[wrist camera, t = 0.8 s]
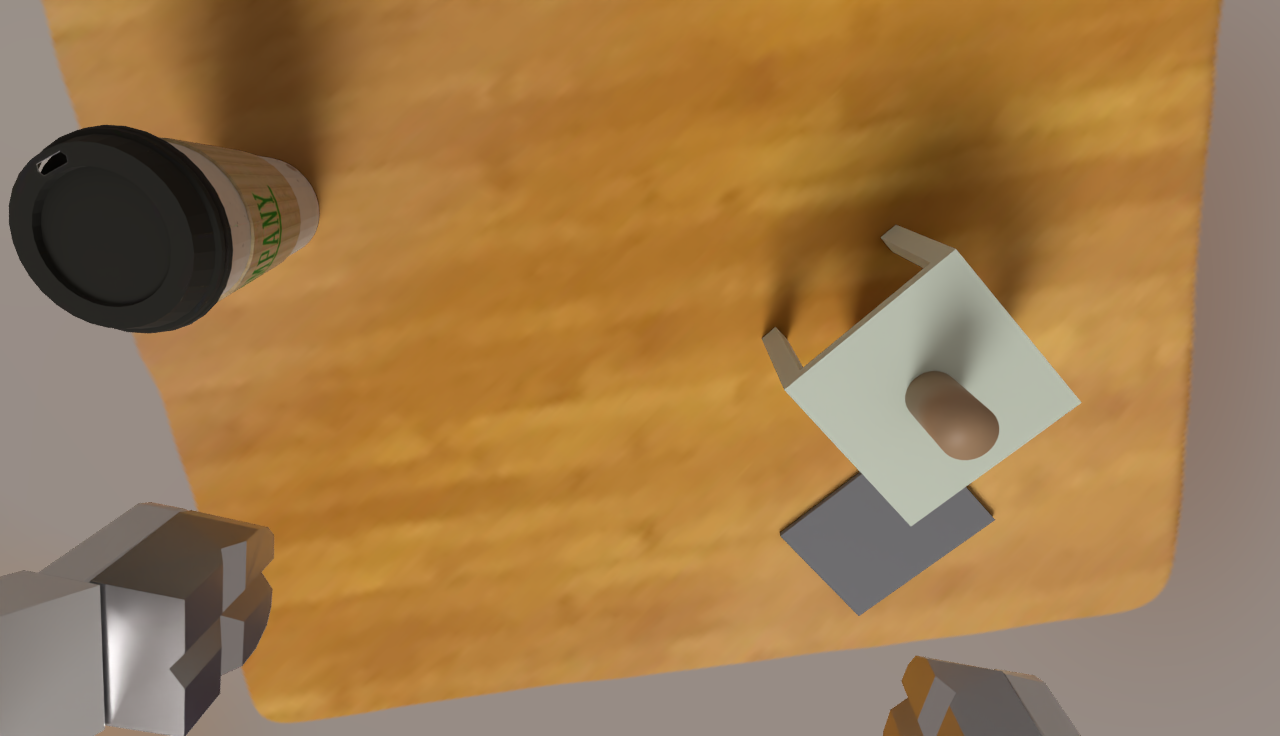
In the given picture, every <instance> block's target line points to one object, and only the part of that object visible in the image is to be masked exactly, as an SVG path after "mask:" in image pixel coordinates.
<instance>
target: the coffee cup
mask: <svg viewBox="0 0 1280 736" xmlns="http://www.w3.org/2000/svg"><path fill="white" fill-rule="evenodd" d="M51 156H52V157H51ZM49 157H51V158H50V159H49V160H48V162H47V163H46V164H45V165H44V167H43V169H42V171H41V172H39V170H38V169H39V167H40V165H41V162H42V161H44V160H46V159H47V158H49ZM318 222H319V205H318V201H317V197H316V194H315V192H314V190H313V188H312V186H311V185H310V183H309V182H308V180H307V179H306V178H305V177H304V176H303V175H302V174H301V173H300V172H299V171H298V170H297V169H296V168H294V167H293V166H291V165H290V164H288V163H286V162H283V161H281V160H277V159H274V158H268V157H262V156H256V155H254V154H251V153H248V152H244V151H240V150H234V149H228V148H222V147H217V146H211V145H205V144H199V143H193V142H187V141H181V140H175V139H170V138H158V137H156V136H154V135H152V134H150V133H148V132H145V131H142V130H138V129H134V128H130V127H127V126H115V125H101V126H94V127H88V128H83V129H80V130H76V131H74V132H72V133H69V134H67V135H64V136H62V137H60V138H58V139H57V140H55V141H54V142H53V143H51V144H50V145H49V146H47V147H46V148H45V149H43V151H42V152H41V153H40V154H38V155H36V156H35V157H34V158H32V159H31V160H30V161H29V162H28V163H27V165H26V166H25V167H24V168H23V170H22V171H21V172H20V173H19V175H18V178H17V180H16V182H15V184H14V186H13V189H12V193H11V199H10V203H9V225H10V230H11V235H12V240H13V244H14V246H15V249H16V251H17V254H18V256H19V259H20V261H21V263H22V264H23V266H24V268H25V269H26V271H27V272H28V274H29V276H30V277H31V279H32V280H33V281H34V282H35V284H36V285H37V286H38V287H39V288H40V290H41V291H42V292H43V293H44V294H45V295H47V296H48V297H49V298H50V299H51V300H52V301H53V302H54V303H56V305H58V306H60V307H61V308H62V309H64V310H66V311H67V312H69V313H70V314H72V315H73V316H75V317H78V318H80V319H82V320H84V321H87V322H89V323H92V324H96V325H100V326H104V327H108V328H114V329H118V330H122V331H126V332H136V333H157V332H164V331H172V330H176V329H179V328H181V327H184V326H187V325H190V324H192V323H193V322H195V321H196V320H198V319H199V318H201V317H203V316H204V315H205V314H206V313H207V312H208V311H209V310H210V309H211V308H212V307H213V306H214V305H215V304H216V303H217V302H218V301H220V300H222V299H223V298H225V297H227V296H228V295H230V294H231V293H233V292H235V291H236V290H238V289H240V288H241V287H243V286H245V285H246V284H248V283H249V282H251V281H253V280H254V279H256V278H258V277H259V276H261V275H263V274H264V273H266V272H267V271H269V270H271V269H272V268H274V267H276V266H277V265H279V264H280V263H282V262H283V261H284V260H285V259H286V258H287V257H288V256H289V255H291V254H293V253H295V252H296V251H298V250H299V249H301V248H303V247H304V246H305V245H306V244H307V243H308V242H309V241H310V240H311V239H312V237H313V236H314V234H315V232H316V229H317V226H318Z"/></svg>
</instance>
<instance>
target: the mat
mask: <svg viewBox="0 0 1280 736" xmlns="http://www.w3.org/2000/svg"><path fill="white" fill-rule="evenodd" d="M994 520H995V519H994V518H993V517H992V516H991V515H990V514H989V512H988V511H987V510H986V509H985V508H984V507H983V506H982V505H981V503H980V502H979V501H978V500H977V499H976V498H975V497H974V496H973V494H972V493H971V492H970V491H969V490H968V489H967V488H966V487H965V488H963V489H962V490H961V491H959V492H958V493H957V494H955V495H954V496H952V497H951V498H950V499H948V500H947V501H946V502H944V503H943V504H941V505H940V506H939V507H937V508H936V509H935V510H933V511H932V512H930V513H929V514H928V515H926V516H925V517H924V518H922V519H921V520H919V521H918V522H917V523H915V524H914V525H913V526H910V525H909V524H908V523H907V522H906V521H905V520H904V519H903V518H902V516H901V515H900V514H899V513H898V512H897V511H896V510H895V509H894V508H893V507H892V506H891V505H890V503H889V502H888V501H887V500H886V499H885V498H884V497H883V496H882V495H881V494H880V493H879V492H878V491H877V489H876V488H875V487H874V486H873V485H872V484H871V483H870V482H869V481H868V480H867V479H866V478H865V476H864V475H863V474H862V473H861V472H859V473H858V474H857V475H855V476H854V477H853V478H851V479H850V480H849V481H847V482H846V483H845V484H843V485H842V486H841V487H840V488H838V489H837V490H836V491H834V492H833V493H832V494H830V495H829V496H828V497H826V498H825V499H824V500H823V501H821V502H820V503H819V504H817V505H816V506H815V507H813V508H812V509H811V510H809V511H808V512H807V513H805V514H804V515H803V516H802V517H800V518H799V519H798V520H796V521H795V522H794V523H792V524H791V525H790V526H788V527H787V528H786V529H785V530H783V531H782V532H781V533H780V536H781V537H782V538H783V539H784V540H785V541H786V542H787V543H788V544H789V545H790V546H791V547H792V548H793V549H794V551H795V552H796V553H797V554H798V555H799V556H800V557H801V558H802V559H803V560H804V561H805V562H806V563H807V564H808V565H809V566H810V567H811V568H812V569H813V570H814V571H815V572H816V573H817V574H818V575H819V576H820V577H821V578H822V579H823V580H824V581H825V582H826V583H827V584H828V585H829V586H830V587H831V588H832V589H833V590H834V591H835V592H836V593H837V594H838V595H839V596H840V597H841V598H842V599H843V600H844V602H845V603H846V604H847V605H848V606H849V607H850V608H851V609H852V610H853V611H854V612H855V613H856V614H857V615H858V616H860V615H861V614H863V613H864V612H865V611H867V610H868V609H870V608H871V607H872V606H874V605H875V604H877V603H878V602H879V601H881V600H882V599H884V598H885V597H887V596H888V595H889V594H891V593H892V592H894V591H895V590H896V589H898V588H899V587H901V586H902V585H904V584H905V583H906V582H908V581H909V580H911V579H912V578H913V577H915V576H916V575H918V574H919V573H921V572H922V571H923V570H925V569H926V568H928V567H929V566H930V565H932V564H933V563H935V562H936V561H938V560H939V559H940V558H942V557H943V556H945V555H946V554H947V553H949V552H950V551H952V550H953V549H955V548H956V547H957V546H959V545H960V544H962V543H963V542H964V541H966V540H967V539H969V538H970V537H972V536H973V535H974V534H976V533H977V532H979V531H980V530H981V529H983V528H984V527H986V526H987V525H988V524H990V523H991V522H993V521H994Z"/></svg>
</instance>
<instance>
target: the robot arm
mask: <svg viewBox="0 0 1280 736" xmlns="http://www.w3.org/2000/svg"><path fill="white" fill-rule="evenodd" d="M273 559H274V534H273V533H272V532H271V530H270V529H269V528H268V527H265V526H261V525H256V524H251V523H247V522H242V521H238V520H233V519H229V518H224V517H220V516H215V515H210V514H206V513H201V512H197V511H192V510H190V511H188V510H186V509H183V508H177V507H173V506H167V505H162V504H157V503H152V502H149V503H139V504H137V505H136V506H134V507H133V508H132V509H130V510H128V511H127V512H126V513H124V514H123V515H121V516H120V517H118V518H117V519H115V520H114V521H112V522H111V523H110V524H108V525H107V526H105V527H104V528H102V529H101V530H99V531H98V532H96V533H95V534H94V535H92V536H91V537H89V538H88V539H86V540H85V541H83V542H82V543H81V544H79V545H78V546H76V547H75V548H73V549H72V550H70V551H69V552H68V553H66V554H65V555H63V556H62V557H60V558H59V559H57V560H56V561H54V562H53V563H51V564H50V565H49V566H47V567H46V568H44V569H43V570H41V571H40V572H39V573H35V572H31V571H25V570H23V571H19V572H16V573H12V574H8V575H4V576H1V577H0V736H94V735H96V734H98V733H99V732H101V731H103V730H104V729H105V725H107V726H114V727H120V728H126V729H132V730H138V731H145V732H151V733H158V734H164V735H171V736H186V735H187V734H188V732H189V731H190V730H191V729H192V727H193V726H194V725H195V724H196V723H197V721H198V720H199V719H200V717H201V716H202V715H203V714H204V713H205V711H206V710H207V709H208V708H209V706H210V705H211V704H212V703H213V702H214V700H215V699H216V698H217V697H218V695H219V694H220V681H221V676H222V675H224V674H226V673H228V672H230V671H233V670H235V669H237V668H239V667H241V666H243V664H244V663H245V662H246V660H247V659H248V658H249V657H250V655H251V654H252V653H253V651H254V650H255V649H256V647H257V645H258V643H259V640H260V638H261V636H262V634H263V632H264V630H265V628H266V626H267V622H268V617H269V613H270V609H271V602H272V588H271V586H270V585H269V583H268V582H267V580H266V578H265V577H264V575H263V574H262V571H263V570H264V568H265V567H266V566H267V565H268V564H269V563H270V562H271V561H272V560H273ZM902 684H903V686H904V689H905V691H906V693H907V696H908V698H907V699H905V700H904V701H902V702H901V703H900V704H898V705H897V706H895V707H894V708H892V709H891V710H890V713H889V716H888V719H887V722H886V725H885V728H884V731H883V736H1081V735H1080V734H1079V732H1078V731H1077V729H1076V728H1075V726H1074V725H1073V723H1072V722H1071V720H1070V719H1069V717H1068V716H1067V715H1066V713H1065V712H1064V710H1063V709H1062V707H1061V706H1060V704H1059V703H1058V701H1057V700H1056V698H1055V697H1054V695H1053V694H1052V692H1051V691H1050V689H1049V688H1048V686H1047V685H1046V684H1045V683H1044V682H1043V681H1042V680H1040V679H1039V678H1037V677H1036V676H1034V675H1029V674H1022V673H1016V672H1010V671H1004V670H997V669H994V670H991V669H987V668H981V667H976V666H970V665H965V664H959V663H954V662H948V661H943V660H937V659H932V658H926V657H921V656H915V657H914V658H913V660H912V661H911V662H910V663H909V664H908V667H907V669H906V671H905V674H904V676H903V679H902Z"/></svg>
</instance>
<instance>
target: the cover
mask: <svg viewBox="0 0 1280 736" xmlns="http://www.w3.org/2000/svg"><path fill="white" fill-rule="evenodd" d="M881 239H882V240H883V241H884V242H885V244H886V245H887V246H888V247H889V248H890V250H891V251H892V252H894V253H896V254H898V255H900V256H901V257H903V258H905V259H907V260H909V261H911V262H913V263H915V264H916V265H918V266H920V267H922V268H923V269H922V270H921V271H920V272H919V273H917V274H916V275H915V276H914V277H913V278H911V279H910V280H909V281H908V282H906V283H905V284H904V285H903V286H902V287H900V288H899V289H898V290H897V291H896V292H894V293H893V294H892V295H891V296H889V297H888V298H887V299H886V300H885V301H883V302H882V303H881V304H880V305H879V306H877V307H876V308H875V309H874V310H872V311H871V312H870V313H869V314H868V315H866V316H865V317H864V318H863V319H862V320H860V321H859V322H858V323H857V324H855V325H854V326H853V327H852V328H851V329H849V330H848V331H847V332H846V333H845V334H843V335H842V336H841V337H840V338H838V339H837V340H836V341H835V342H834V343H832V344H831V345H830V346H829V347H828V348H826V349H825V350H824V351H823V352H822V353H820V354H819V355H818V356H817V357H815V358H814V359H813V360H812V361H811V362H809V363H808V364H807V365H806V366H805V367H803V366H802V365H801V363H800V361H799V359H798V358H797V356H796V354H795V352H794V351H793V349H792V347H791V345H790V343H789V342H788V340H787V339H786V338H785V336H784V335H783V334H782V333H781V332H780V331H779V330H778V329H777V328H776V327H775V328H774V329H772V330H771V331H770V332H769V333H768V334H767V335H765V336H764V337H763V338H762V340H763V343H764V345H765V347H766V349H767V352H768V354H769V356H770V358H771V361H772V363H773V365H774V368H775V370H776V372H777V374H778V377H779V379H780V381H781V383H782V386H783V388H784V390H785V391H786V392H787V393H788V394H789V395H790V396H791V398H792V399H793V400H794V401H795V402H796V403H797V404H798V405H799V406H800V407H801V408H802V409H803V411H804V412H805V413H806V414H807V415H808V416H809V417H810V418H811V419H812V420H813V421H814V422H815V423H816V425H817V426H818V427H819V428H820V429H821V430H822V431H823V432H824V433H825V434H826V435H827V436H828V438H829V439H830V440H831V441H832V442H833V443H834V444H835V445H836V446H837V447H838V448H839V449H840V451H841V452H842V453H843V454H844V455H845V456H846V457H847V458H848V459H849V460H850V461H851V462H852V463H853V465H854V466H855V467H856V468H857V469H858V470H859V471H860V472H861V473H862V474H863V475H864V476H865V478H866V479H867V480H868V481H869V482H870V483H871V484H872V485H873V486H874V487H875V488H876V489H877V491H878V492H879V493H880V494H881V495H882V496H883V497H884V498H885V499H886V500H887V501H888V502H889V503H890V505H891V506H892V507H893V508H894V509H895V510H896V511H897V512H898V513H899V514H900V515H901V516H902V518H903V519H904V520H905V521H906V522H907V523H908V524H909V525H910V526H913V525H914V524H915V523H917V522H918V521H919V520H921V519H922V518H924V517H925V516H926V515H928V514H929V513H930V512H932V511H933V510H935V509H936V508H937V507H939V506H940V505H941V504H943V503H944V502H946V501H947V500H948V499H950V498H951V497H952V496H954V495H955V494H957V493H958V492H959V491H961V490H962V489H963V488H965V487H966V486H968V485H969V484H970V483H972V482H973V481H974V480H976V479H977V478H979V477H980V476H981V475H983V474H984V473H985V472H987V471H988V470H990V469H991V468H992V467H994V466H995V465H996V464H998V463H999V462H1001V461H1002V460H1003V459H1005V458H1006V457H1007V456H1009V455H1010V454H1012V453H1013V452H1014V451H1016V450H1017V449H1018V448H1020V447H1021V446H1023V445H1024V444H1025V443H1027V442H1028V441H1029V440H1031V439H1032V438H1034V437H1035V436H1036V435H1038V434H1039V433H1040V432H1042V431H1043V430H1045V429H1046V428H1047V427H1049V426H1050V425H1051V424H1053V423H1054V422H1056V421H1057V420H1058V419H1060V418H1061V417H1062V416H1064V415H1065V414H1067V413H1068V412H1069V411H1071V410H1072V409H1073V408H1075V407H1076V406H1078V405H1079V404H1080V403H1081V401H1080V400H1079V399H1078V398H1077V397H1076V395H1075V394H1074V393H1073V392H1072V390H1071V389H1070V388H1069V387H1068V386H1067V384H1066V383H1065V382H1064V381H1063V379H1062V378H1061V377H1060V376H1059V375H1058V373H1057V372H1056V371H1055V370H1054V368H1053V367H1052V366H1051V365H1050V364H1049V362H1048V361H1047V360H1046V359H1045V357H1044V356H1043V355H1042V354H1041V353H1040V351H1039V350H1038V349H1037V348H1036V346H1035V345H1034V344H1033V343H1032V341H1031V340H1030V339H1029V338H1028V337H1027V335H1026V334H1025V333H1024V332H1023V330H1022V329H1021V328H1020V327H1019V326H1018V324H1017V323H1016V322H1015V321H1014V319H1013V318H1012V317H1011V316H1010V315H1009V313H1008V312H1007V311H1006V310H1005V308H1004V307H1003V306H1002V305H1001V304H1000V302H999V301H998V300H997V299H996V297H995V296H994V295H993V294H992V293H991V291H990V290H989V289H988V288H987V286H986V285H985V284H984V283H983V282H982V280H981V279H980V278H979V277H978V275H977V274H976V273H975V272H974V270H973V269H972V268H971V267H970V266H969V264H968V263H967V262H966V261H965V259H964V258H963V257H962V256H961V255H960V253H959V252H958V251H957V250H956V249H955V248H952V247H950V246H947V245H945V244H942V243H940V242H938V241H935V240H933V239H930V238H928V237H925V236H923V235H920V234H918V233H915V232H913V231H910V230H908V229H905V228H903V227H900V226H898V225H895V226H894V227H892V228H891V229H890V230H889V231H888V232H887V233H885V234H884V235H883V236H882V237H881Z"/></svg>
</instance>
